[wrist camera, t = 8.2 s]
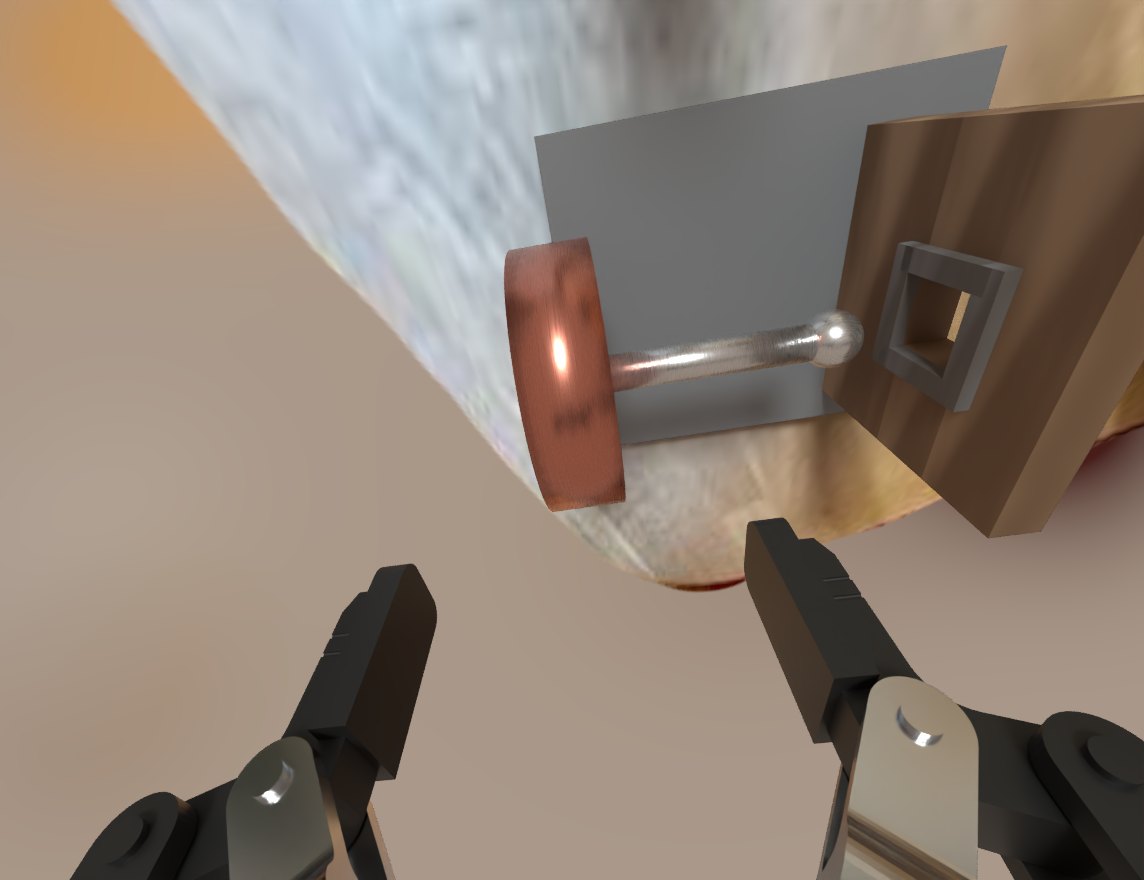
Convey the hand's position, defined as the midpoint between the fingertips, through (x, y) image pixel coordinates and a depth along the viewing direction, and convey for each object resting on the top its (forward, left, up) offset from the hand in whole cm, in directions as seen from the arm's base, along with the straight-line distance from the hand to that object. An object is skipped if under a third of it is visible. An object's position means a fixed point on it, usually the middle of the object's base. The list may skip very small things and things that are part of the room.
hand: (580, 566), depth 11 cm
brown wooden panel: (-16, 0, -18) cm, 24 cm away
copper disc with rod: (-5, 0, -16) cm, 17 cm away
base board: (-10, 0, -19) cm, 22 cm away
